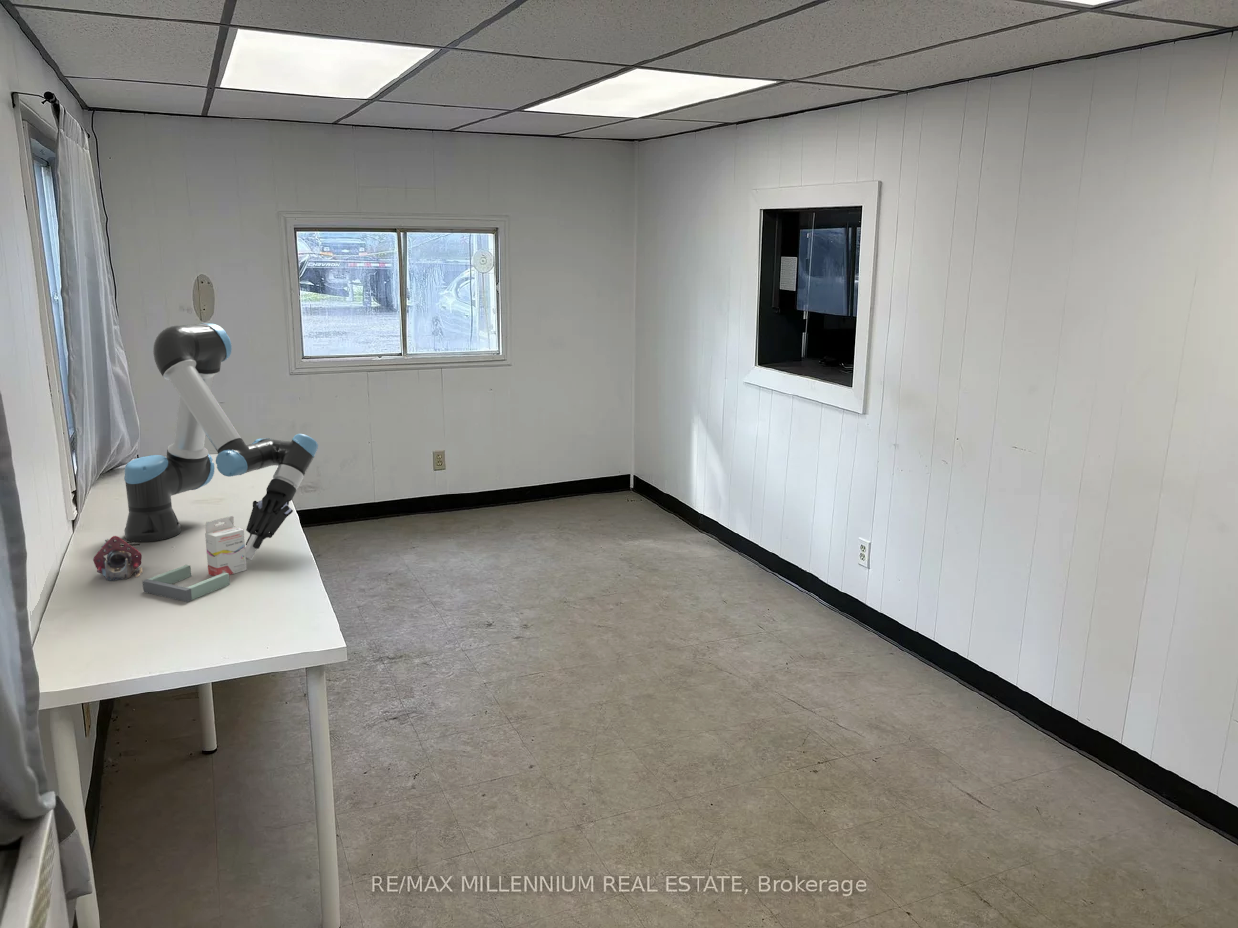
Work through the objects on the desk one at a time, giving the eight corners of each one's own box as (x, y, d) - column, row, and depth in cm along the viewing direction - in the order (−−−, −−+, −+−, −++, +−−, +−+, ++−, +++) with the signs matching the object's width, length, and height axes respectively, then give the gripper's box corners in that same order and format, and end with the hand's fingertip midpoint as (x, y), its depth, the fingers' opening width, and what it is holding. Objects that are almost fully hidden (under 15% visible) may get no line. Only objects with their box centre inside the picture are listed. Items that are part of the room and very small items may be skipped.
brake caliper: (90, 577, 232) (90, 534, 236) (98, 590, 241) (97, 548, 245) (140, 572, 236) (139, 529, 240) (145, 585, 245) (144, 544, 250)
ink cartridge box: (218, 578, 239) (213, 525, 236) (208, 574, 242) (203, 522, 239) (247, 570, 246) (243, 518, 243) (237, 566, 249) (232, 514, 245)
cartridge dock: (143, 592, 229) (142, 580, 228) (187, 575, 241) (186, 564, 241) (187, 601, 223) (185, 590, 223) (229, 584, 236) (228, 573, 235)
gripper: (309, 493, 259) (272, 567, 248) (274, 488, 264) (236, 560, 253) (295, 480, 253) (256, 555, 242) (259, 474, 258) (219, 548, 247)
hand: (246, 557), depth 248 cm, fingers closed
